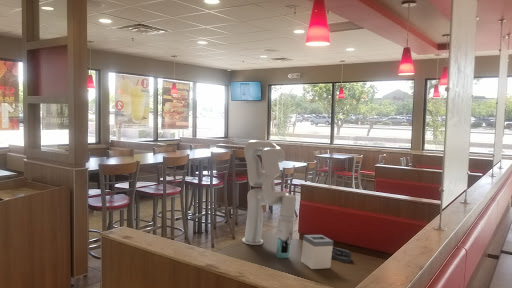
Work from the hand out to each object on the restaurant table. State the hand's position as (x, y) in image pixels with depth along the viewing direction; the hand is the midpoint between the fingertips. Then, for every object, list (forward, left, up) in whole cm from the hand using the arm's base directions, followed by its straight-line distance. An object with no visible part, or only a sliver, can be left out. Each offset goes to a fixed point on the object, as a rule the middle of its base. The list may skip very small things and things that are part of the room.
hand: (282, 251), depth 211 cm
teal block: (0, 0, -3) cm, 3 cm away
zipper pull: (0, +30, -4) cm, 30 cm away
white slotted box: (+12, +13, -3) cm, 18 cm away
